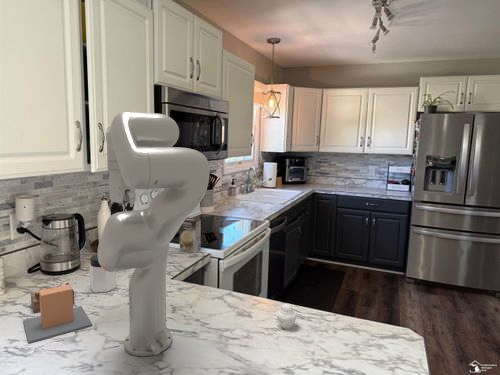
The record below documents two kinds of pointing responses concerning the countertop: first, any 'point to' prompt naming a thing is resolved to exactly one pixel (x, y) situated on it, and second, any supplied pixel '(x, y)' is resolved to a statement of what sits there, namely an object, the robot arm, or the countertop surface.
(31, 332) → the mat
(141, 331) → the robot arm
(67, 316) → the orange block
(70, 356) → the countertop surface
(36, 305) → the dispenser
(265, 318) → the countertop surface
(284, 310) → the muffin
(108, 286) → the jar
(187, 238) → the coffee box
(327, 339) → the countertop surface
